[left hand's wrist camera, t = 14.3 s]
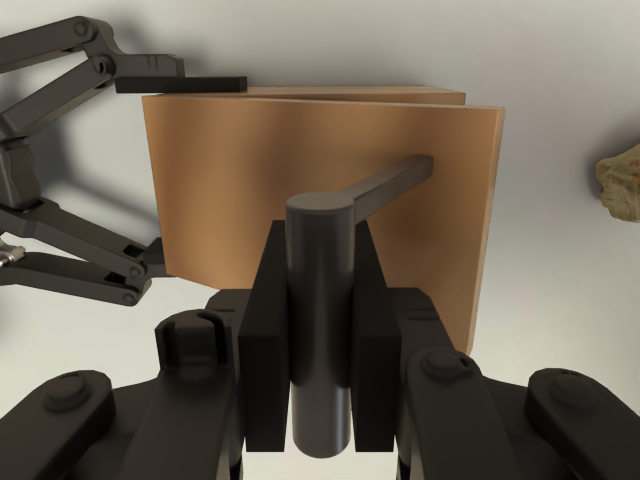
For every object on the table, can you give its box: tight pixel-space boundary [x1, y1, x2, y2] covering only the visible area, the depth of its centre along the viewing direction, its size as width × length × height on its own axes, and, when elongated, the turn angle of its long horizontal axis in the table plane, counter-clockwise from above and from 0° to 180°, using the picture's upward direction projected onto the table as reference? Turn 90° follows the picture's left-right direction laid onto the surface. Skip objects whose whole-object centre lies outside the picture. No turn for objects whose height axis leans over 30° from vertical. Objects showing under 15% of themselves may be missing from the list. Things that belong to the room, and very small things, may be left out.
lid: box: [142, 95, 505, 458], centre depth 16 cm, size 16×9×9 cm, turn 90°
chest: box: [158, 86, 466, 105], centre depth 28 cm, size 15×9×9 cm, turn 90°
